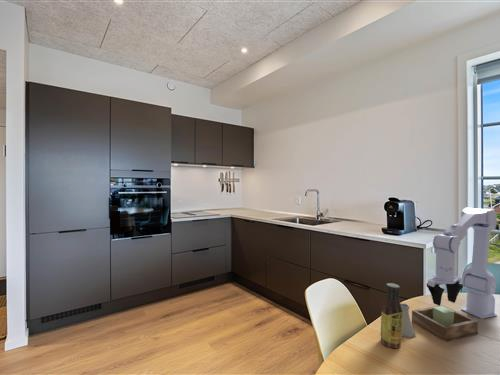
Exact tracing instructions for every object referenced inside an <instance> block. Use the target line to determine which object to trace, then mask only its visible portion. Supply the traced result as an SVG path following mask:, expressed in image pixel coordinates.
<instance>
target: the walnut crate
mask: <svg viewBox="0 0 500 375" xmlns="http://www.w3.org/2000/svg"><path fill="white" fill-rule="evenodd" d="M440 306H443V307H445V308H447V309H450V310H452V311H454V324H452V325H448V326H444V325H442V324H440V323H438V322H436V321H434V320H433V308H434V307H439V306H438V305H434V306H430V307H429V306H428V307H425V308H418V309H414V310H413V309H412V310H411V323H413V324H415V325H417V326H418V327H420V328H421V329H423V330H425V331H427V332H429V333H430V334H432V335H434V336H435V337H437V338H439V339H440V340H442V341H444V342H449V341H453V340H458V339H463V338H465V337H471V336H474V335H477V334H479V333H478V332H479V330H478V329H479V321H478V320H476V319H474V318H472V317H470V316H467V315H466V314H463V313H460V312H459V311H456V310H454V309H452V308H449V307H447V306H446V305H442V304H440Z"/></svg>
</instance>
